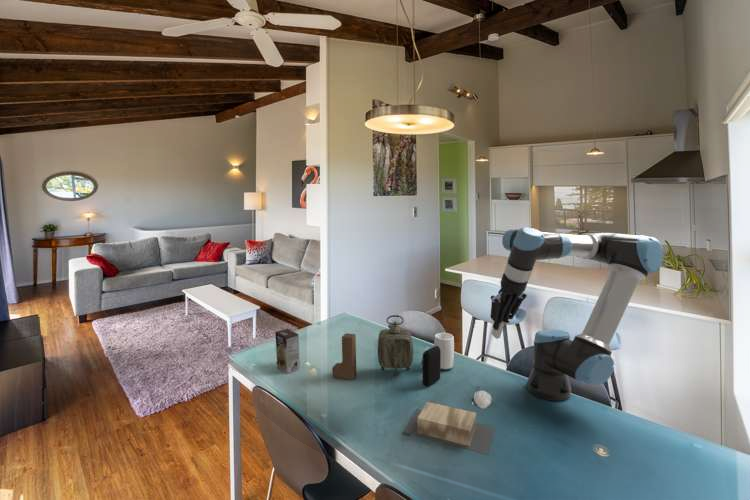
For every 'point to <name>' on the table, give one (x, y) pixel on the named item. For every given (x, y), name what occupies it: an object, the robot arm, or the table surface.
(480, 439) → the mat
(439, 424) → the slab
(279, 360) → the coffee box
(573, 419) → the table surface
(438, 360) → the carrying case or bag
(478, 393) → the white oblong lump
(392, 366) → the tabletop clock
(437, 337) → the cup
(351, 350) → the wooden block
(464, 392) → the table surface
